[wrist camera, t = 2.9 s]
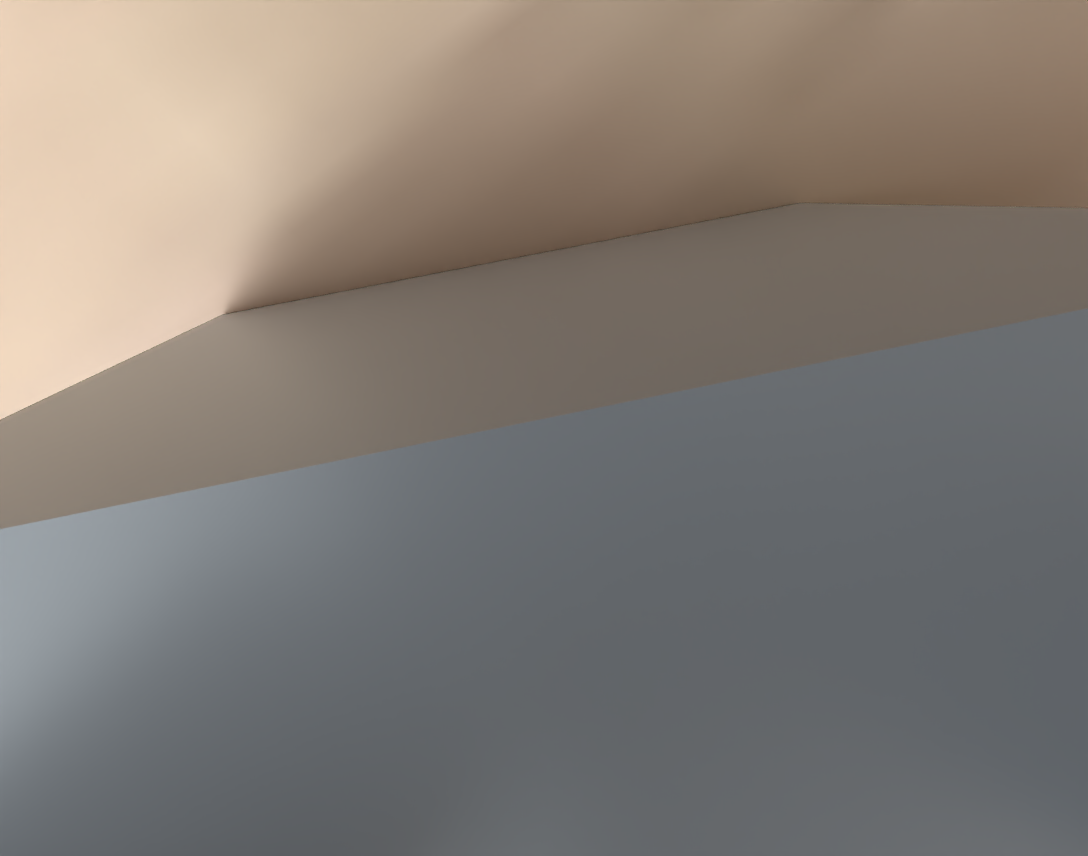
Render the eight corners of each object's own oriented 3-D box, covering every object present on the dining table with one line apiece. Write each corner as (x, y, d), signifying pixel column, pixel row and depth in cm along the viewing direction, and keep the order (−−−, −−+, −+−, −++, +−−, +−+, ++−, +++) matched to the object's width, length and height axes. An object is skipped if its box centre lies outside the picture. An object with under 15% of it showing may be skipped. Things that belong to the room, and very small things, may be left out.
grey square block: (823, 671, 15) (1234, 1225, 7) (376, 769, 15) (259, 1479, 7) (800, 202, 12) (1543, 215, 4) (222, 314, 12) (-404, 610, 3)
